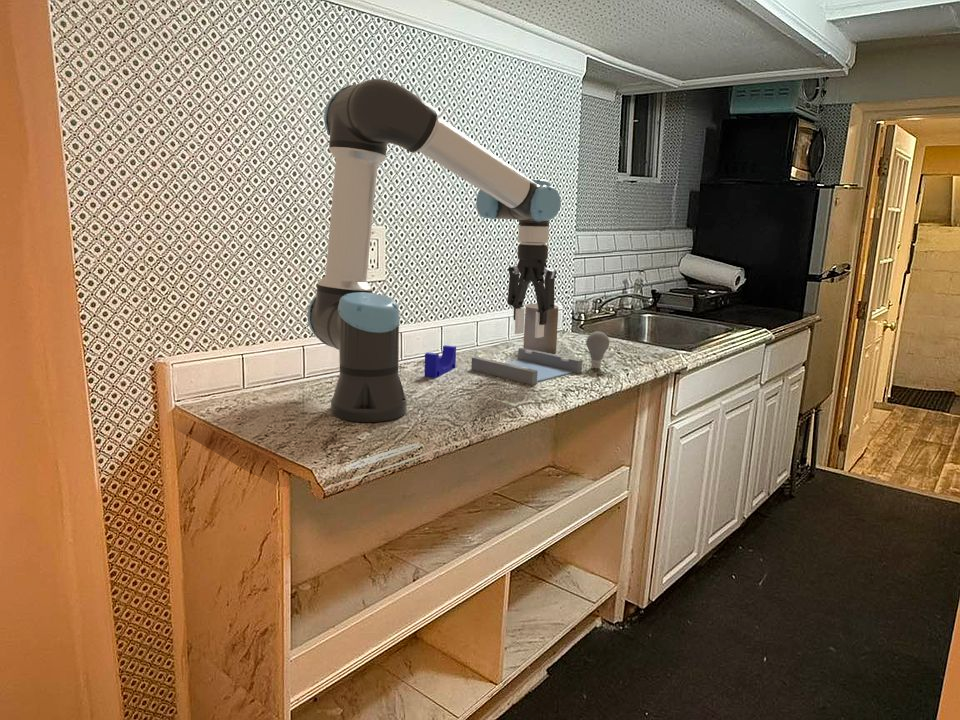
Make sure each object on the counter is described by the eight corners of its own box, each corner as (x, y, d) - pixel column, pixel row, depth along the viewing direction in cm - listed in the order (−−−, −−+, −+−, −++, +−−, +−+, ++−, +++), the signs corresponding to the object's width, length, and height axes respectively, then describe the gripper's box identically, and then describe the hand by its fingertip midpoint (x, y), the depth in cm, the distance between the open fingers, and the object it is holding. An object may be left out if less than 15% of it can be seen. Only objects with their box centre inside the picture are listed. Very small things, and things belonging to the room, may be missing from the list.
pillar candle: (551, 348, 206) (553, 299, 203) (559, 355, 197) (562, 303, 194) (519, 348, 205) (522, 298, 202) (526, 355, 196) (529, 303, 192)
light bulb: (589, 371, 179) (591, 333, 177) (581, 365, 185) (583, 329, 182) (610, 370, 180) (613, 333, 178) (602, 365, 186) (605, 329, 184)
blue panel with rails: (532, 384, 163) (532, 371, 162) (471, 369, 176) (471, 357, 175) (581, 372, 177) (582, 360, 177) (522, 358, 191) (522, 347, 190)
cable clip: (439, 367, 178) (440, 344, 177) (455, 369, 177) (456, 346, 175) (419, 376, 167) (419, 353, 166) (435, 379, 166) (436, 355, 164)
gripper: (573, 245, 166) (567, 339, 171) (513, 241, 178) (510, 328, 184) (554, 246, 161) (549, 342, 166) (494, 241, 173) (491, 331, 178)
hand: (529, 335), depth 175 cm, fingers open, 6 cm apart
